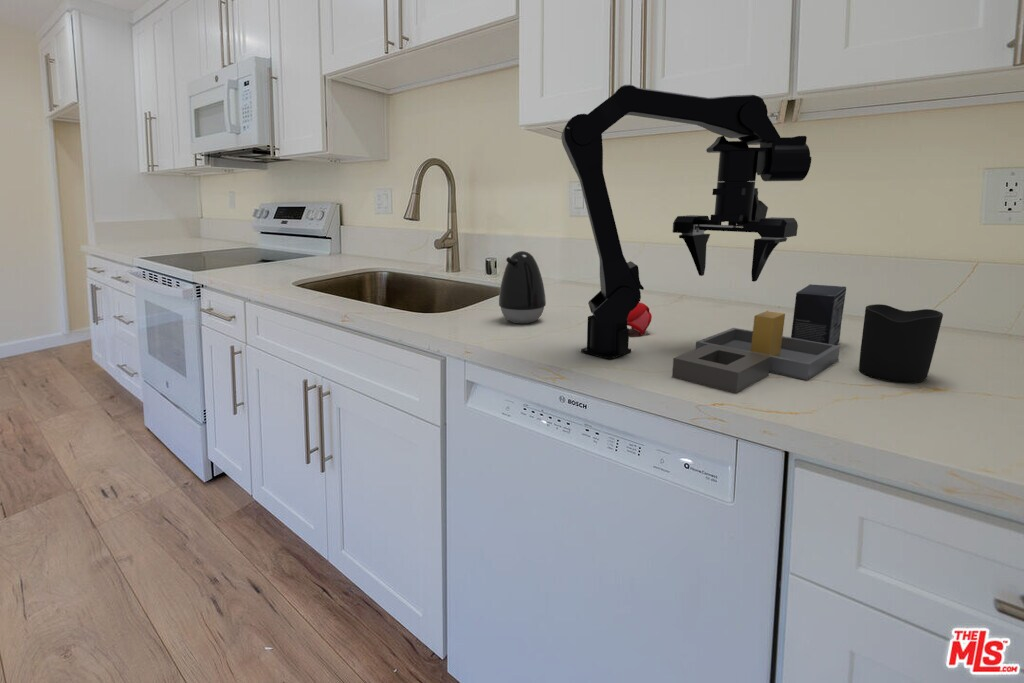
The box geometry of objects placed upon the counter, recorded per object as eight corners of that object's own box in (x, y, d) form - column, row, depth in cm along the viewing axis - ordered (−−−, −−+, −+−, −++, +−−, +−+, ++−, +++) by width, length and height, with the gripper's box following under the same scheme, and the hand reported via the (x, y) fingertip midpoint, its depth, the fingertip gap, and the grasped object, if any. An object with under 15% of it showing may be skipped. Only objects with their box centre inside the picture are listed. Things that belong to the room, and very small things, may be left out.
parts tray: (694, 355, 94) (696, 341, 94) (732, 340, 103) (733, 327, 103) (807, 380, 82) (809, 364, 81) (837, 360, 91) (840, 345, 90)
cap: (643, 311, 114) (619, 297, 112) (659, 307, 108) (634, 292, 107) (628, 345, 112) (604, 332, 111) (644, 343, 106) (618, 328, 105)
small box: (801, 337, 106) (808, 282, 103) (839, 342, 102) (848, 286, 99) (786, 349, 98) (794, 290, 95) (828, 355, 94) (837, 295, 91)
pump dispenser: (489, 322, 119) (487, 252, 115) (516, 313, 128) (515, 247, 124) (528, 328, 114) (528, 254, 110) (554, 319, 122) (555, 250, 118)
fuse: (750, 356, 92) (754, 315, 90) (762, 350, 95) (766, 311, 93) (768, 360, 90) (773, 318, 88) (780, 354, 93) (785, 313, 91)
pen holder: (893, 363, 89) (904, 303, 87) (946, 382, 80) (960, 315, 78) (841, 366, 88) (851, 305, 85) (889, 386, 79) (901, 318, 76)
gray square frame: (672, 376, 84) (673, 358, 83) (707, 361, 91) (708, 343, 90) (736, 393, 77) (738, 372, 76) (768, 375, 84) (770, 356, 83)
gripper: (816, 181, 87) (803, 278, 92) (706, 183, 100) (699, 268, 105) (789, 180, 80) (776, 286, 84) (673, 182, 93) (667, 274, 97)
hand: (727, 278), depth 93 cm, fingers open, 9 cm apart
